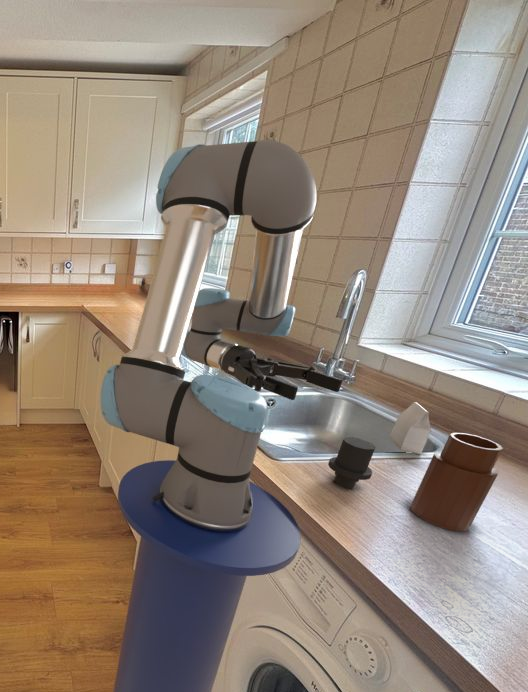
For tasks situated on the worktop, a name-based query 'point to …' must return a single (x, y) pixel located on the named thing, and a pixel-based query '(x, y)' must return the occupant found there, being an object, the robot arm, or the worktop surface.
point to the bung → (352, 462)
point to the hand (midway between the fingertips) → (318, 389)
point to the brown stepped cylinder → (457, 481)
